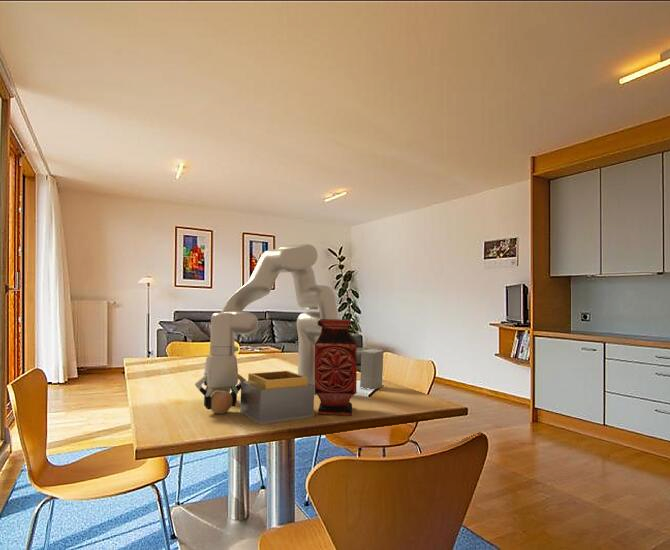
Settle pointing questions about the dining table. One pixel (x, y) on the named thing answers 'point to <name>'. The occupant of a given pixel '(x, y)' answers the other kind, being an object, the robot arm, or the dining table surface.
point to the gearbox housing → (276, 397)
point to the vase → (335, 367)
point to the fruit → (221, 401)
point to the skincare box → (371, 368)
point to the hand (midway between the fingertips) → (220, 406)
